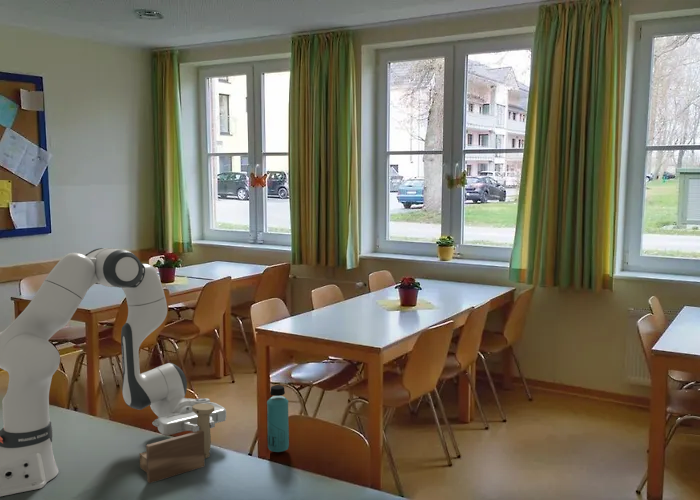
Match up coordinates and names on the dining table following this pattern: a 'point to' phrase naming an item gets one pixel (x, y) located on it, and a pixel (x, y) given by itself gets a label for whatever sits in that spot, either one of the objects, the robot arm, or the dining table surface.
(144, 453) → the wooden drawer
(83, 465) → the dining table surface
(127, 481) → the dining table surface
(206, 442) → the handle
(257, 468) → the dining table surface
